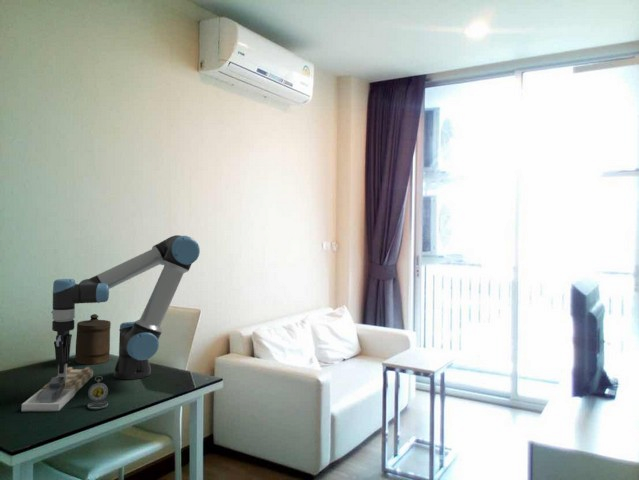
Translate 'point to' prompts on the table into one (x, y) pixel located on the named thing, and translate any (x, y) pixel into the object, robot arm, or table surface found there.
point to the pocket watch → (98, 394)
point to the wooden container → (93, 341)
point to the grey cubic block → (48, 396)
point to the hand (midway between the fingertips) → (62, 380)
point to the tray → (35, 404)
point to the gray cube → (57, 382)
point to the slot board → (76, 378)
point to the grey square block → (56, 391)
